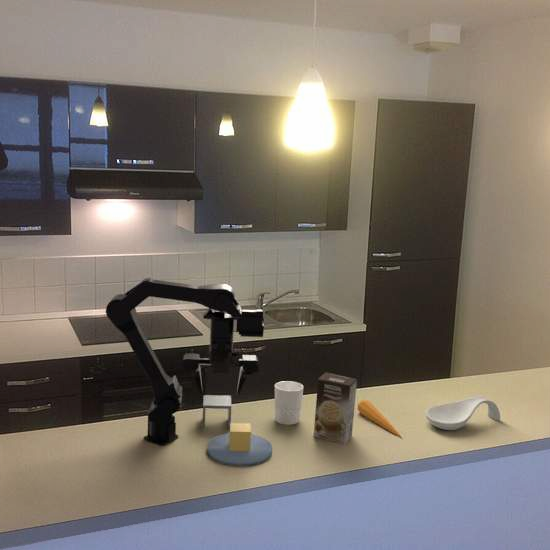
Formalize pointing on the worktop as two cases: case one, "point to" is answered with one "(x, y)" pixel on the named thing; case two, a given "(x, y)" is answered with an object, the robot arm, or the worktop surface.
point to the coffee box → (335, 407)
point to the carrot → (375, 416)
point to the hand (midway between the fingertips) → (219, 395)
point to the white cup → (288, 402)
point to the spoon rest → (459, 412)
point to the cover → (217, 405)
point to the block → (240, 437)
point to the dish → (221, 451)
